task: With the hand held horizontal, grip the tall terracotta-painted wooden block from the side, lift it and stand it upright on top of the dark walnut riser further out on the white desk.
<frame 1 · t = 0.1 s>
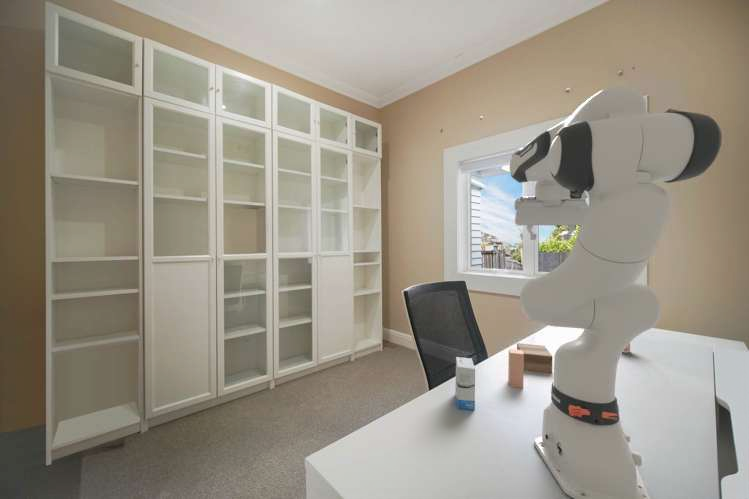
hand: (549, 239, 95), 48 cm above the table, tool pointing down, fingers open, 8 cm apart
walnut riser: (533, 364, 116), on the table
supplement bottle: (620, 351, 133), on the table
ink box: (464, 402, 89), on the table
terracotta block: (515, 384, 100), on the table
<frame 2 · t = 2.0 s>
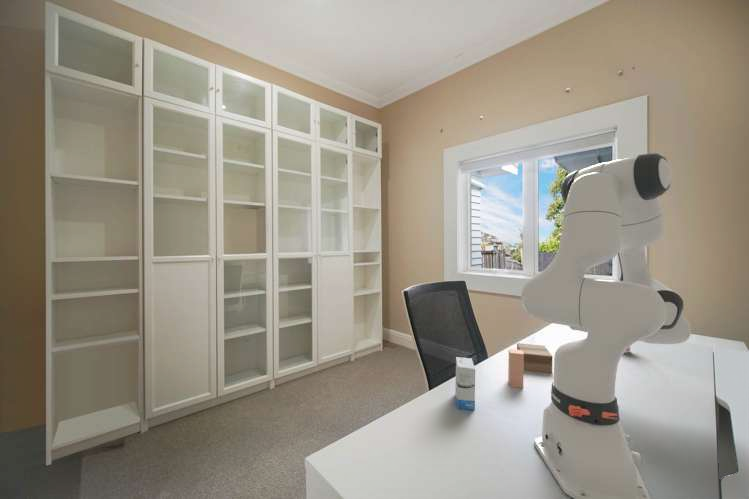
hand: (565, 322, 95), 22 cm above the table, tool horizontal, fingers open, 8 cm apart
nothing on the table moved.
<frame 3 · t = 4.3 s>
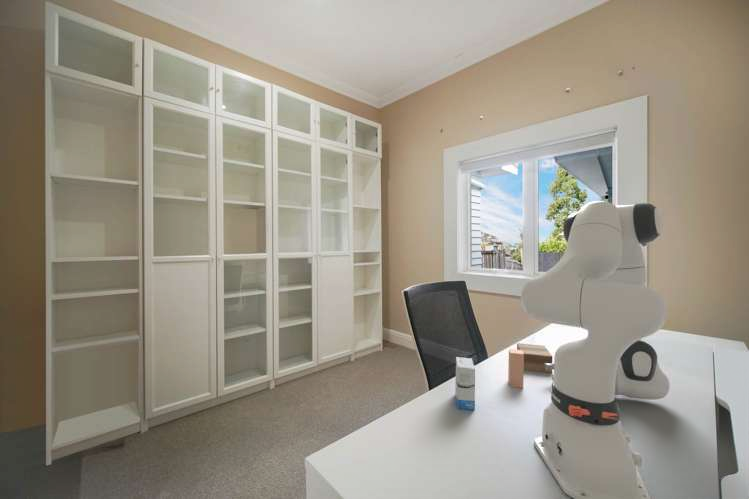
hand: (548, 371, 97), 5 cm above the table, tool horizontal, fingers open, 8 cm apart
nothing on the table moved.
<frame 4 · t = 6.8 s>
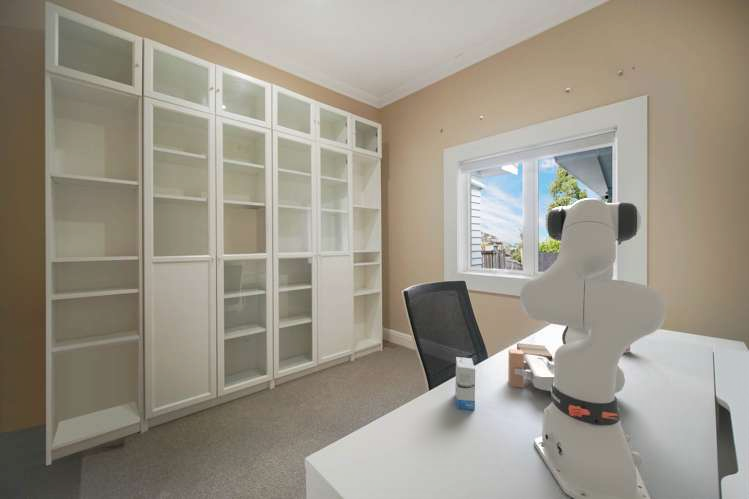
hand: (512, 367, 100), 6 cm above the table, tool horizontal, fingers closed on terracotta block, 4 cm apart
terracotta block: (515, 384, 100), on the table, touching gripper
everything else where it was.
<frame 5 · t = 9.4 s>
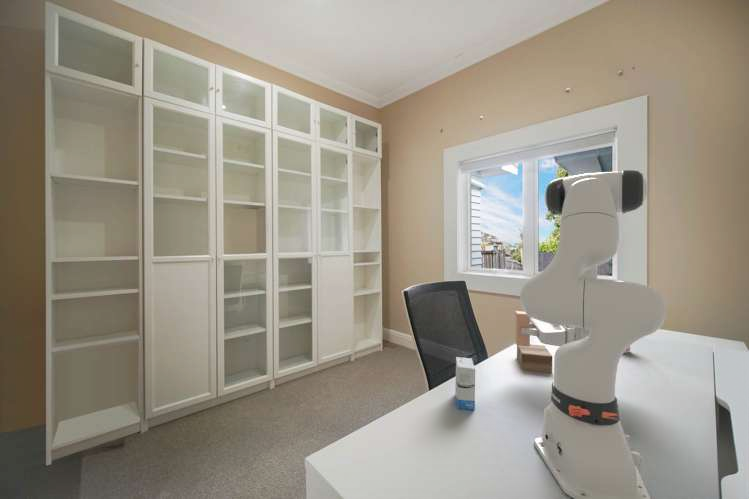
hand: (519, 328, 105), 17 cm above the table, tool horizontal, fingers closed on terracotta block, 4 cm apart
terracotta block: (522, 344, 105), point 12 cm above the table, touching gripper
everything else where it was.
when the fingers open (13 cm above the table, at t = 12.0 s): terracotta block drops 1 cm, resting on walnut riser.
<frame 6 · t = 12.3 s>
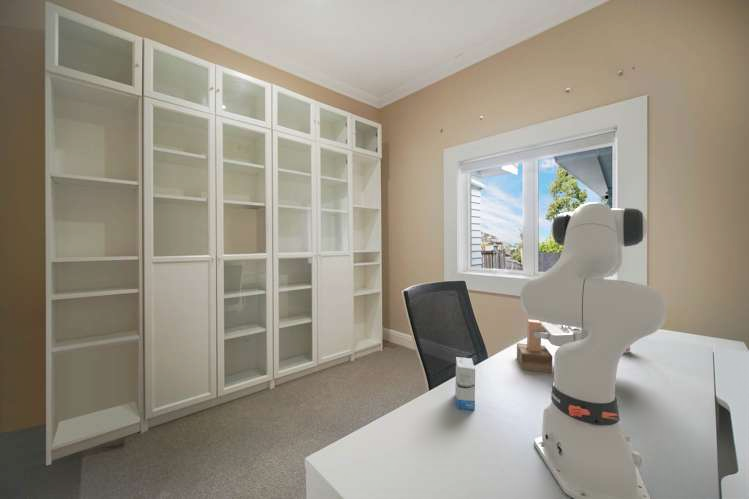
hand: (531, 331, 116), 13 cm above the table, tool horizontal, fingers open, 6 cm apart
terracotta block: (533, 349, 116), point 6 cm above the table, touching walnut riser
everything else where it was.
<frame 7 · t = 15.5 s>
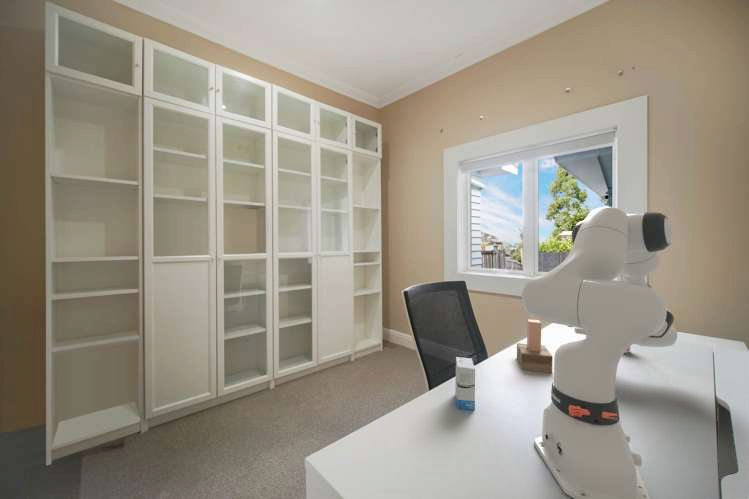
hand: (570, 327, 112), 16 cm above the table, tool horizontal, fingers open, 8 cm apart
nothing on the table moved.
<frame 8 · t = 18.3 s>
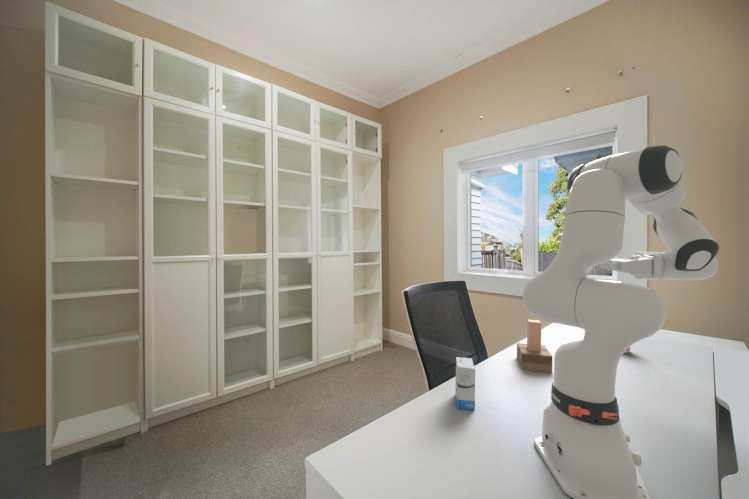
hand: (593, 264, 100), 40 cm above the table, tool horizontal, fingers open, 8 cm apart
nothing on the table moved.
at the end: terracotta block inside the target area on the walnut riser (0.0 cm from its centre), point 6.0 cm above the walnut riser's base; terracotta block tilted 0°; the gripper is holding nothing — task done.
